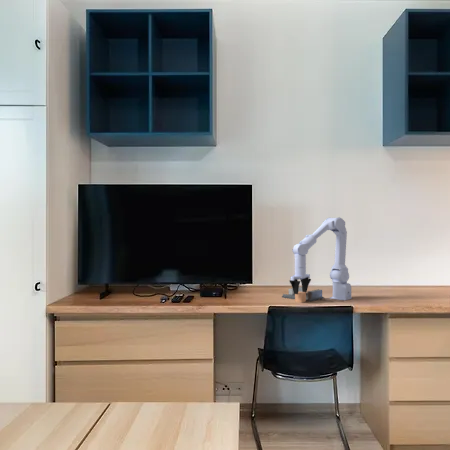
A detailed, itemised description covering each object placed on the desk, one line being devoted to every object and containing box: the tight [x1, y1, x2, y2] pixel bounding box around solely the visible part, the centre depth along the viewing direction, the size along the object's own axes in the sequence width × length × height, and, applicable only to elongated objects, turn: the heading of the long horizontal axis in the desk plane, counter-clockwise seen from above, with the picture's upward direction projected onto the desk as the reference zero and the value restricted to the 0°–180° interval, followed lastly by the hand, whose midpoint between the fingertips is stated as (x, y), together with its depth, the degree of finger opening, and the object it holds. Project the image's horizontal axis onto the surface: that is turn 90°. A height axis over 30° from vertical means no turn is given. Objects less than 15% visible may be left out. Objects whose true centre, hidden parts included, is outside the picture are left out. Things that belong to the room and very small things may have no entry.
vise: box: [281, 288, 325, 302], centre depth 238 cm, size 18×13×5 cm
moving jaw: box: [288, 286, 303, 295], centre depth 241 cm, size 3×10×4 cm, turn 134°
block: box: [294, 291, 307, 303], centre depth 227 cm, size 4×4×5 cm
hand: (300, 293), depth 227 cm, fingers open, 7 cm apart
